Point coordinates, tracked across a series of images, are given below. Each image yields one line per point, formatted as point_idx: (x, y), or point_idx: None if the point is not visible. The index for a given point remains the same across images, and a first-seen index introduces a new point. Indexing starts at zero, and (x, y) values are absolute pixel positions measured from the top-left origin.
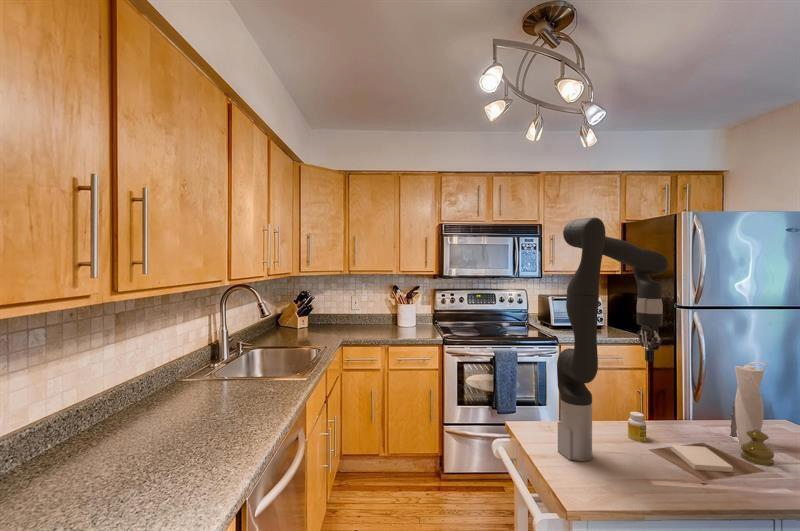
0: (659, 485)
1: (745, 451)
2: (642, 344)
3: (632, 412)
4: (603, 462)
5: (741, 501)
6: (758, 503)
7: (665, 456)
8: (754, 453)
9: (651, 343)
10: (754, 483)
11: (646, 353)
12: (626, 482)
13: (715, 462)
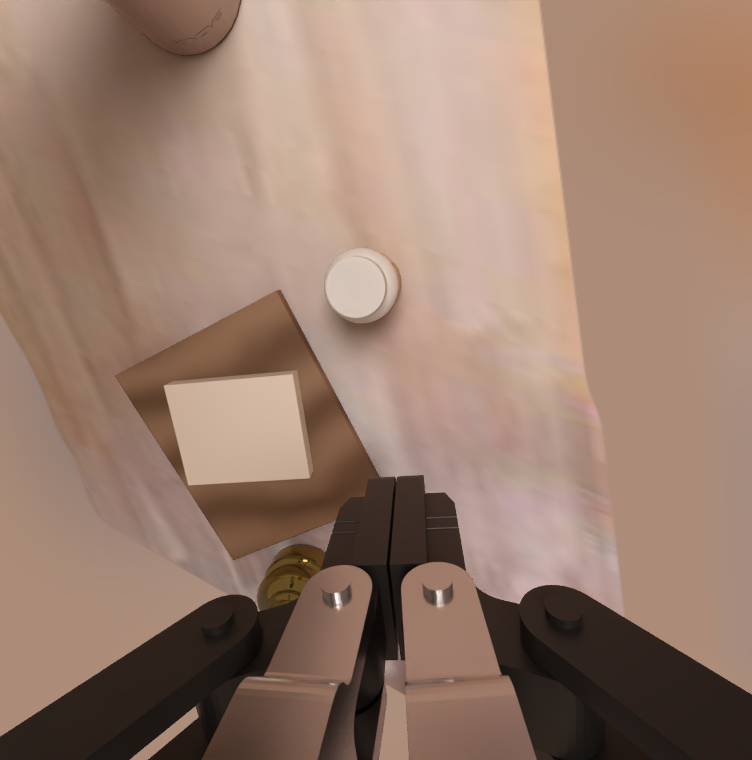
0: (71, 245)
1: (282, 568)
2: (540, 631)
3: (371, 271)
4: (155, 95)
5: (76, 424)
6: (83, 457)
7: (237, 330)
8: (263, 581)
9: (41, 756)
10: (182, 503)
11: (377, 533)
12: (46, 143)
13: (200, 453)
